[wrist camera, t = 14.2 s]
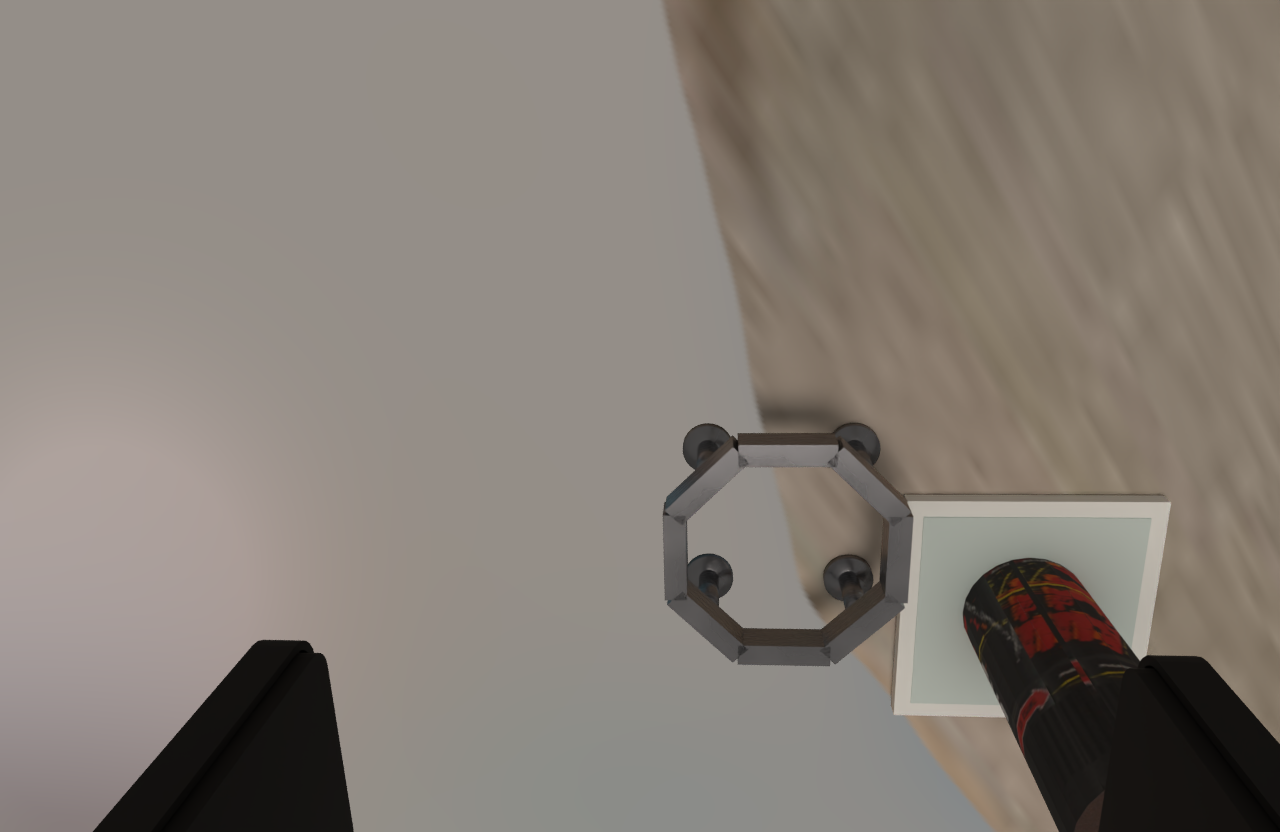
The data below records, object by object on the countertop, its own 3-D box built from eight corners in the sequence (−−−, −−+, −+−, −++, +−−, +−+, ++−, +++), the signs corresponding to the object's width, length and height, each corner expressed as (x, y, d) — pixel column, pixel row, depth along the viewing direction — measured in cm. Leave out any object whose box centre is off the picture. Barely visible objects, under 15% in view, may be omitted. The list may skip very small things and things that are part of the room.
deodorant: (1114, 611, 45) (1295, 843, 31) (1018, 685, 47) (1148, 938, 33) (1031, 534, 44) (1178, 737, 30) (936, 613, 46) (1033, 840, 32)
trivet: (904, 494, 45) (908, 501, 44) (1163, 495, 44) (1172, 503, 43) (890, 705, 49) (894, 716, 48) (1129, 710, 48) (1136, 721, 47)
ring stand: (667, 409, 45) (660, 445, 40) (896, 408, 44) (918, 444, 39) (671, 608, 48) (666, 663, 43) (884, 611, 47) (903, 667, 42)
